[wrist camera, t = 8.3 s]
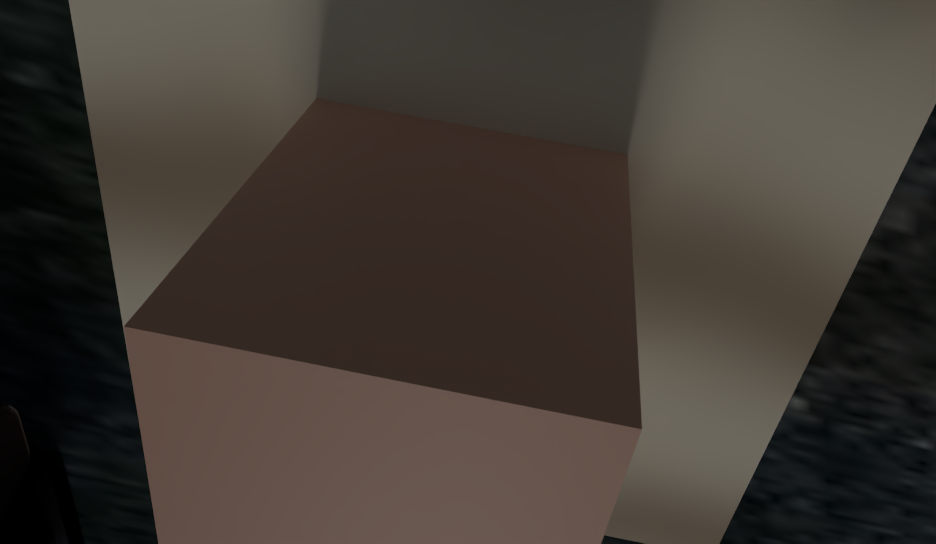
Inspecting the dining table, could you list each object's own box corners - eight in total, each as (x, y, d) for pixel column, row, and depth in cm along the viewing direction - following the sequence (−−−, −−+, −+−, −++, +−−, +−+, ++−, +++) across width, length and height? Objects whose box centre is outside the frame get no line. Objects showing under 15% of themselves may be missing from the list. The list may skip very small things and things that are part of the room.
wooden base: (700, 470, 19) (712, 557, 17) (190, 369, 20) (142, 441, 18) (951, -109, 12) (1026, -81, 10) (125, -237, 12) (29, -237, 10)
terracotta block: (564, 388, 15) (544, 701, 10) (312, 338, 15) (170, 620, 10) (627, 154, 12) (642, 428, 7) (316, 98, 12) (124, 326, 7)
